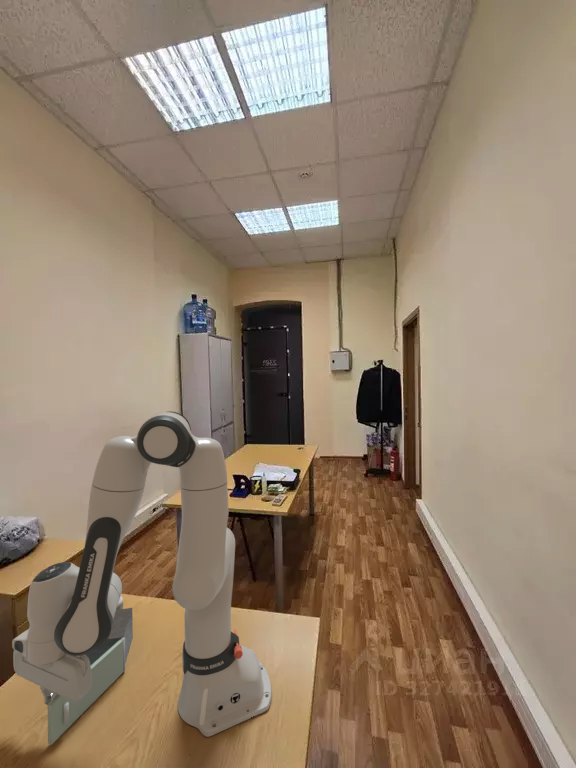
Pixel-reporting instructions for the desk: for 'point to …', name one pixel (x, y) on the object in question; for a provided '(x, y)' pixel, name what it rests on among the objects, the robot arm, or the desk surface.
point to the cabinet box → (116, 634)
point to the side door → (103, 676)
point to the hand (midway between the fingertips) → (52, 703)
